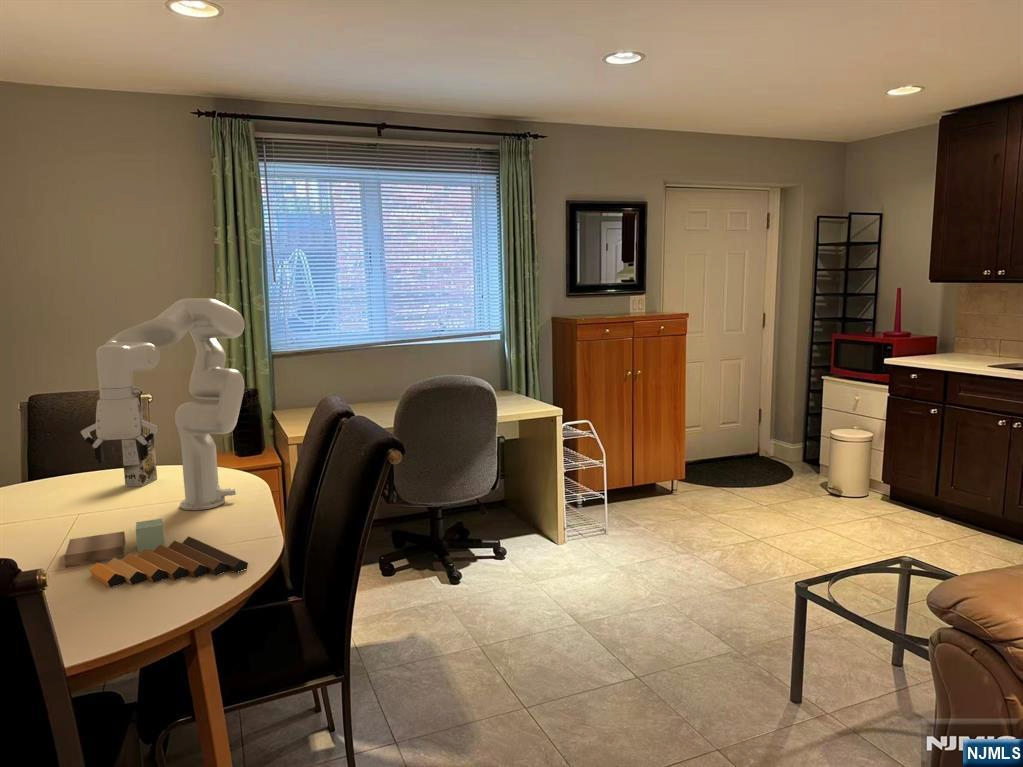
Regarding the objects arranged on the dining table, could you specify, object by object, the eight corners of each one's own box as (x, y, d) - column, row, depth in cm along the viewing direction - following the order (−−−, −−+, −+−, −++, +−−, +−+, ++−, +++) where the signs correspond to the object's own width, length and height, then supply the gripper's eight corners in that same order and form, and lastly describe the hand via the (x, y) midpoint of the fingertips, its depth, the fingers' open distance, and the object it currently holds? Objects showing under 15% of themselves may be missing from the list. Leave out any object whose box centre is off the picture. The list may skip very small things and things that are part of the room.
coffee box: (143, 486, 232) (139, 439, 230) (124, 486, 232) (120, 439, 230) (158, 479, 241) (154, 433, 239) (140, 479, 241) (136, 433, 239)
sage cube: (164, 540, 183) (162, 518, 182) (164, 548, 178) (162, 525, 177) (138, 544, 180) (136, 522, 179) (137, 552, 175) (135, 529, 174)
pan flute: (248, 571, 164) (196, 546, 179) (247, 557, 163) (195, 534, 179) (138, 610, 145) (90, 579, 160) (136, 594, 144) (88, 564, 160)
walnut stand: (125, 542, 182) (124, 531, 181) (123, 558, 171) (122, 546, 170) (71, 550, 176) (70, 539, 176) (65, 567, 166) (64, 555, 165)
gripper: (157, 390, 181) (162, 454, 184) (82, 393, 176) (88, 460, 179) (152, 394, 174) (157, 461, 176) (73, 398, 169) (79, 466, 171)
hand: (122, 460), depth 177 cm, fingers open, 9 cm apart
